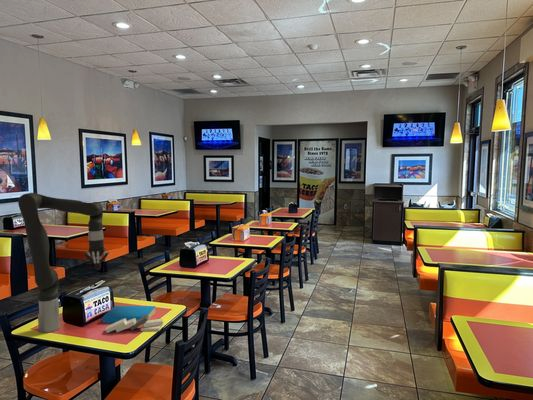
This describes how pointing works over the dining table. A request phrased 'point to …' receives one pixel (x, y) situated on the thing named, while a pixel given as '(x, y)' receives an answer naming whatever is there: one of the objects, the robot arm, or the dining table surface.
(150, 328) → the domino
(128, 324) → the domino
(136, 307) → the book
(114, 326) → the domino
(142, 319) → the domino
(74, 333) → the dining table surface
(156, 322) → the domino
